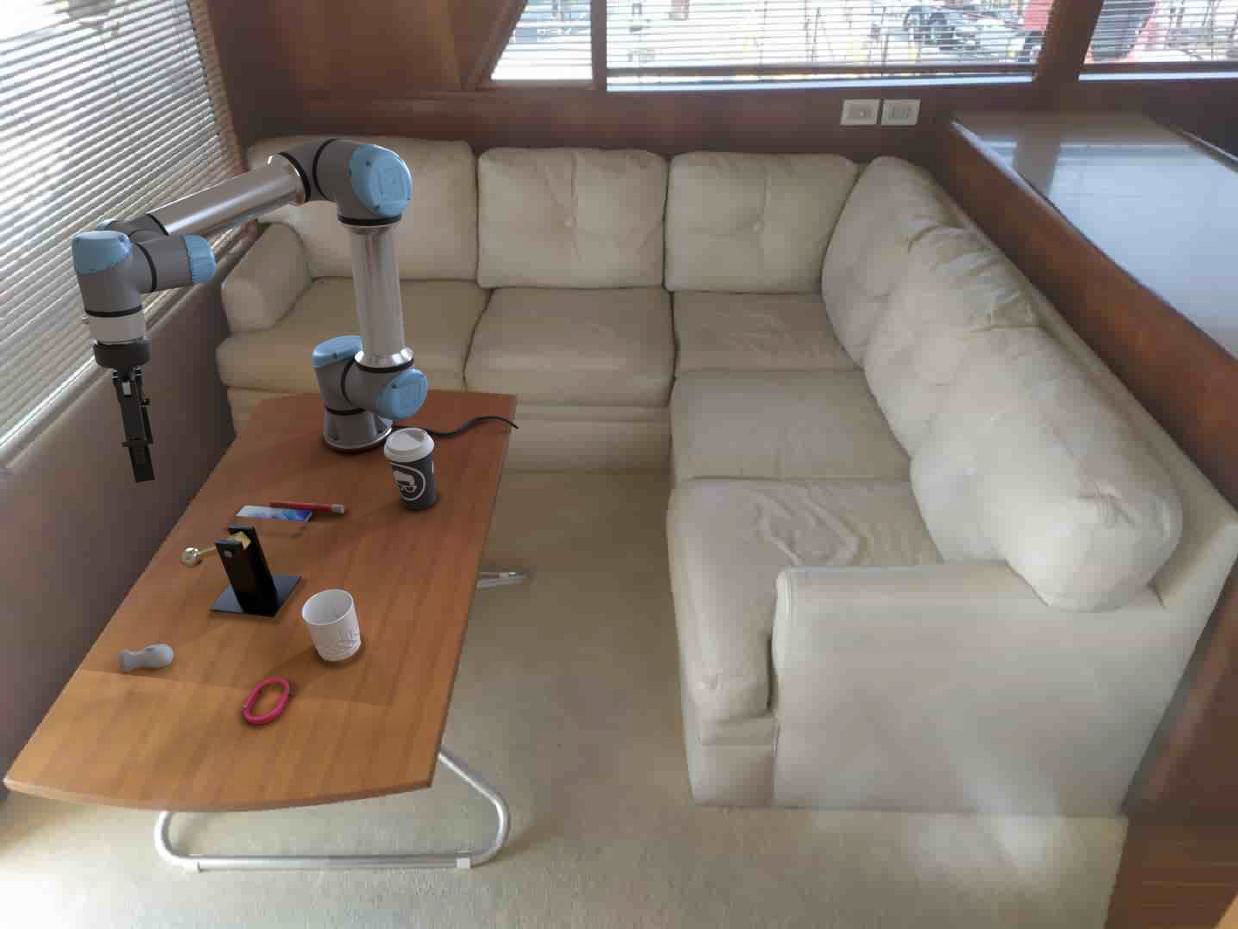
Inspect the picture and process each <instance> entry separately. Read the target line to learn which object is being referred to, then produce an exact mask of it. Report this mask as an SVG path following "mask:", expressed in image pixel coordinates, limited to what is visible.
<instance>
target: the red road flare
mask: <svg viewBox="0 0 1238 929" xmlns="http://www.w3.org/2000/svg"><path fill="white" fill-rule="evenodd" d="M269 507H271V508H285V509H300V510H311V511H312V512H317V513H318V512H319V513H332V514H344V512H345V505H344V504H335V503H334V504H330V503H315V502H302V501H301V502H300V501H285V500H273V499H272V500H270V501H269Z"/></svg>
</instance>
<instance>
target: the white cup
mask: <svg viewBox="0 0 1238 929" xmlns="http://www.w3.org/2000/svg"><path fill="white" fill-rule="evenodd" d="M301 617H302V620H303V622H304V624H305V626H306V629H307V632H308V634H309V636H310V639H311V641H312V644H313V645H314V648H315V649H316V651H317V654H318V655H319V656H320V657H321V658H322V659H323V660H324V661H329V662H340V661H343V660H346V659H348V658H350V657H352V656H353V655H354V654H355V653H356V652H357V651H358V650H359V648H360V646H361V644H362V640H361V634H360V633H361V632H360V628H359V627H360V624H359V621H358V616H357V612H356V608H355V603H354V599H353V597H352V595H351V593H349V592H348V591H345V590H343V589H326V590H323V591H320V592H318V593H316V594H314V595H312V596H311V597H310V598H308V599H307V600H306V602H305V603H304V604H303V606H302V608H301Z"/></svg>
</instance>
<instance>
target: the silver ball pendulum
mask: <svg viewBox="0 0 1238 929" xmlns="http://www.w3.org/2000/svg"><path fill="white" fill-rule="evenodd" d="M226 540H232V541H242V544H243V546H244V549H245V548H246V547H247V546H248V545H249V543H250V542H251V541H250V540H249V539H248V537H247V536H246V535H245V534H244V533H243V532H242V531H241V532H239V533H236V534H233V535H230V534H229V537H228V538H227V539H226ZM217 554H219V553H218V551H217V548H216V546H215V545H214V546H211V547H208V548H205V549H202V550H201V549H199V548H197V547H188V548H186V549H184V550H183V551H182V553H181V554H180V563H181V564H182V566H183V567H185V568H187V569H197V568H198V567H200V566H201V565H202V564H203V562H204V559H206V558H208V557H209V558H210V557H212V556H214V555H217Z"/></svg>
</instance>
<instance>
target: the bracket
mask: <svg viewBox="0 0 1238 929" xmlns="http://www.w3.org/2000/svg"><path fill="white" fill-rule="evenodd" d="M226 528H227V531H228V533H229V536H230V535H233V534H236V533H239V532H241V531H242V532H243V533H244V534H245V535H246V536H247V537H248V539H249V540H250V541H251V542H250V543H249V545H248V546H247V547H246V548H245V549H244V546H243V544H242V541H232V540H227V539H220V538H219V539H216V540H215V541H214V546H216V548H217V551H218V553H217V554H218V556H219V558H220V560H221V561H220V562H221V563H222V566H223V569H224V571H225V573H226V576H227V578H228V581H229V584H228V585H227V587H225V589H224V590H223V592H222V593H221V594H220V596H219V597H218V598H217V600H216V601H215V602H214V604H212V606H211V607H210V608H209V611H211V612H220V613H221V612H222V613H231V614H240V615H250V616H258V617H259V616H260V617H269V618H275V617H276V616H277V615H278V613H279V611H280V610H281V608H282V607H283V605H284V604H285V602H286V601H287V600H288V598H289V597H290V595H291V594H292V592H293V591H294V590H295V588H296V586H297V585H298V583H299V582H300V580H301V579H302V576H300V575H290V574H280V573H271V569H270V567H269V564H268V562H267V559H266V556H265V553H264V550H263V548H262V545H261V542H260V539H259V537H258V534H257V530H256V528H255V525H245V524H244V525H243V524H234V523H229V525H228V526H227V527H226Z"/></svg>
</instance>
